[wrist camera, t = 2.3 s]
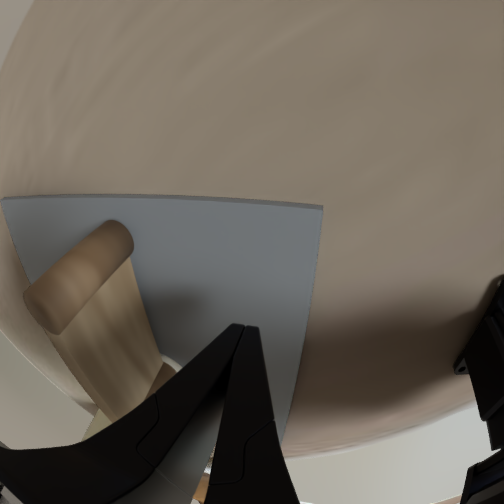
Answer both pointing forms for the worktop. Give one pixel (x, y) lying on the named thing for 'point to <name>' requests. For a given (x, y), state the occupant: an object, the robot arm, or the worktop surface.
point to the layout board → (195, 267)
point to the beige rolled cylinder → (99, 319)
